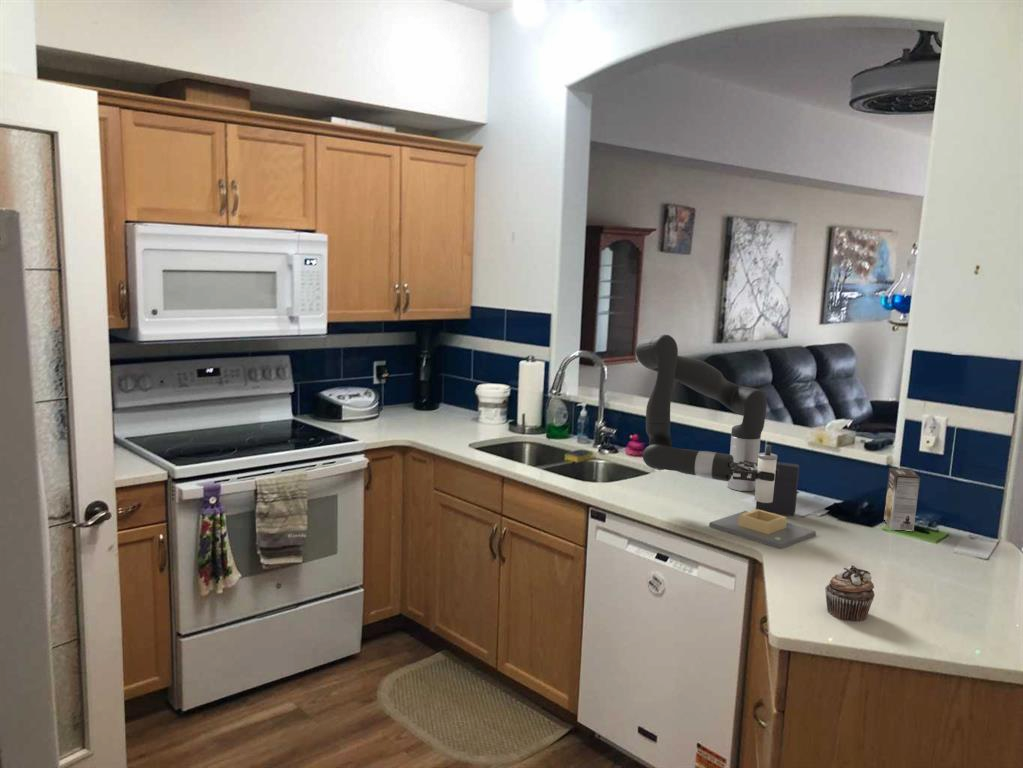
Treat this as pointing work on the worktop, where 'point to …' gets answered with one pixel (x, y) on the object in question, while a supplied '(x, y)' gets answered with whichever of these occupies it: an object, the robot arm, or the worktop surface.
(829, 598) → the cupcake
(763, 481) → the white cylindrical bottle
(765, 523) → the socket dock
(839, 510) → the worktop surface
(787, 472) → the dark grey upright panel
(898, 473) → the coffee box
